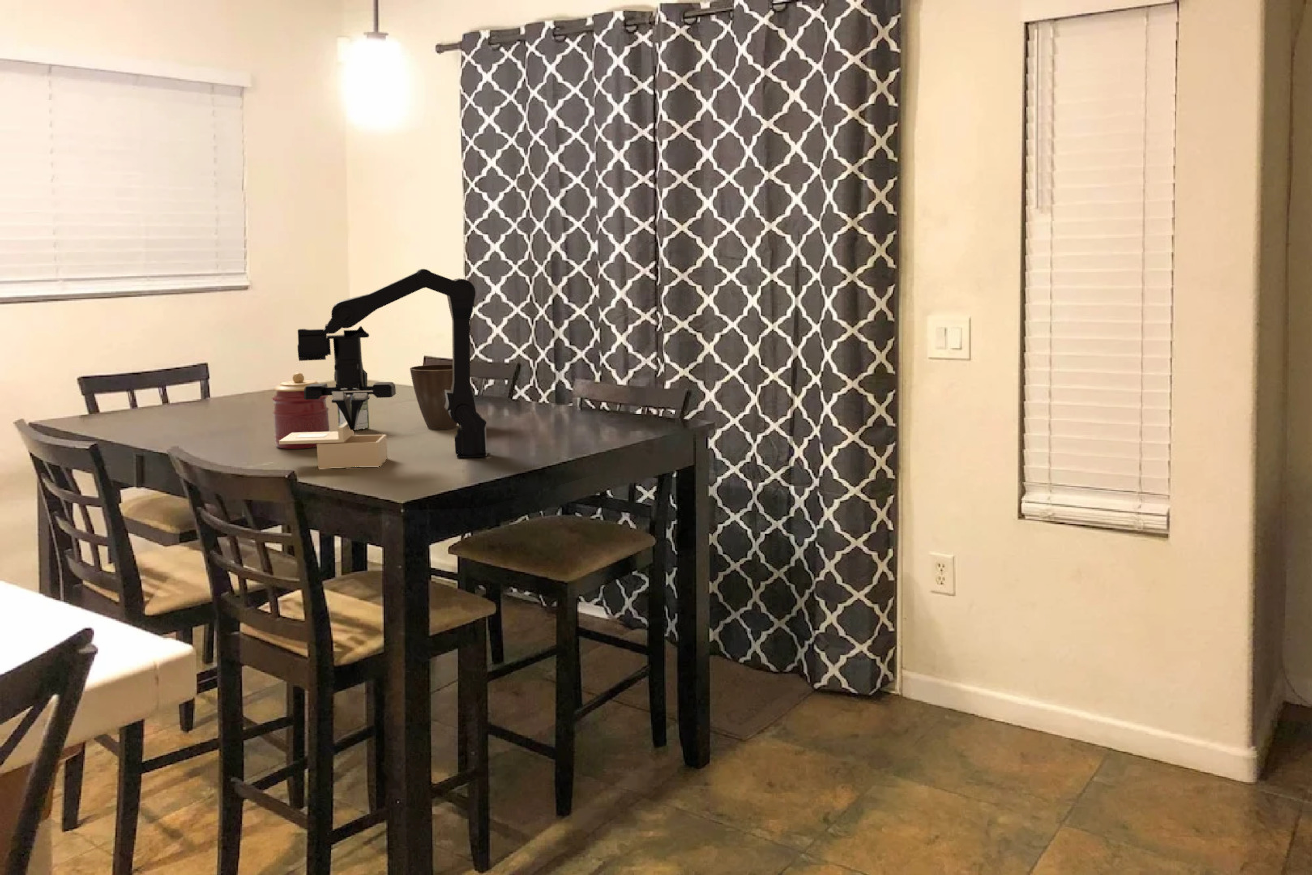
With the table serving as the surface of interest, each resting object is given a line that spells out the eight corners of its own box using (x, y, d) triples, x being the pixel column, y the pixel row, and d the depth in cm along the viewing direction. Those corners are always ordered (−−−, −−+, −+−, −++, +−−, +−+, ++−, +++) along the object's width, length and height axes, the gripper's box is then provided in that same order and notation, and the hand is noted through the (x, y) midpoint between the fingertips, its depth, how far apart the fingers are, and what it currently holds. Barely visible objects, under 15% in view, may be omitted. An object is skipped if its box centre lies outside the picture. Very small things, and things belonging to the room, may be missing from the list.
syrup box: (356, 426, 293) (353, 372, 290) (370, 428, 289) (366, 374, 286) (338, 429, 288) (334, 375, 286) (352, 432, 285) (348, 376, 282)
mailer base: (387, 458, 248) (386, 434, 247) (379, 467, 238) (377, 442, 237) (329, 460, 247) (327, 436, 246) (318, 469, 237) (316, 444, 236)
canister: (263, 448, 264) (257, 375, 261) (298, 439, 276) (293, 369, 273) (308, 450, 259) (303, 376, 256) (342, 441, 271) (337, 370, 268)
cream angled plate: (353, 433, 247) (352, 419, 246) (343, 442, 236) (342, 427, 236) (292, 435, 246) (291, 421, 245) (279, 444, 235) (278, 429, 235)
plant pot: (424, 422, 297) (421, 363, 294) (478, 422, 295) (475, 363, 292) (405, 432, 283) (401, 370, 280) (460, 432, 281) (457, 370, 278)
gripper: (397, 354, 247) (401, 422, 250) (313, 356, 246) (318, 425, 248) (389, 359, 236) (393, 430, 239) (300, 361, 235) (306, 433, 238)
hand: (352, 429), depth 241 cm, fingers closed
